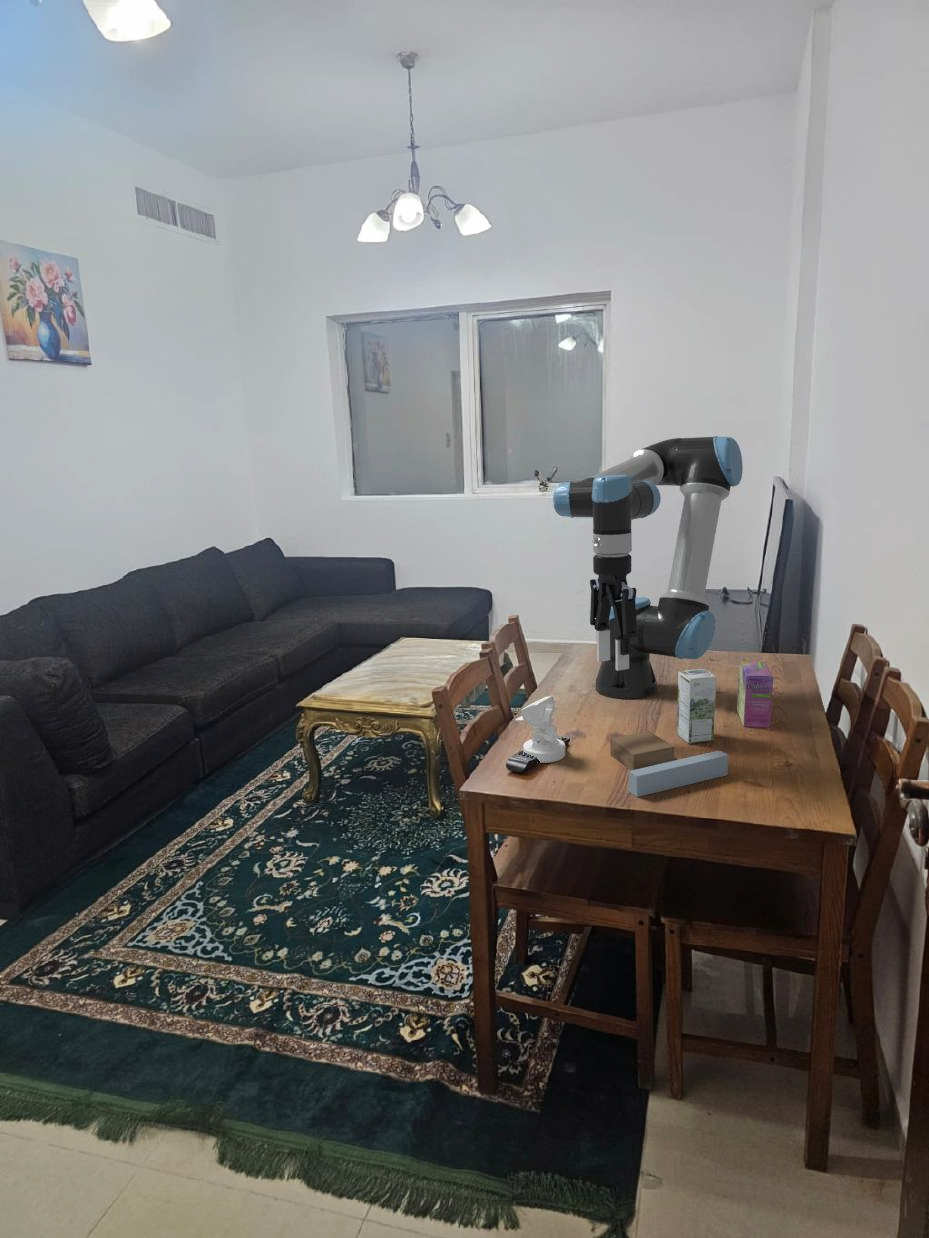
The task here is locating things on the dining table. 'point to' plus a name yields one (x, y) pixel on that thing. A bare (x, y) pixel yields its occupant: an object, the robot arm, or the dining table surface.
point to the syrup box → (696, 705)
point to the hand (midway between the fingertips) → (612, 664)
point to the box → (755, 694)
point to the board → (678, 773)
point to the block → (641, 750)
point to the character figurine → (542, 731)
